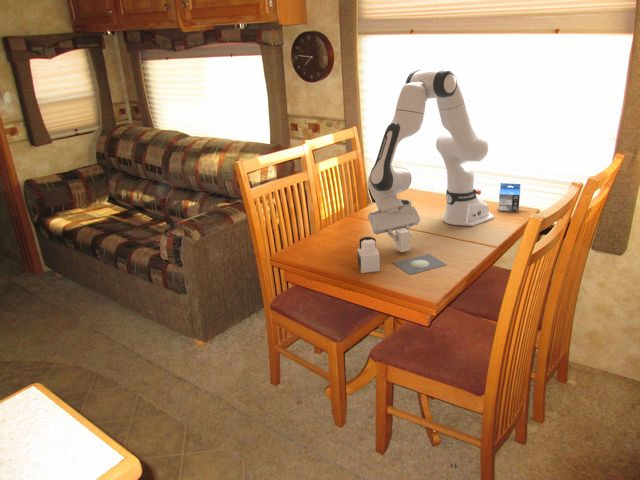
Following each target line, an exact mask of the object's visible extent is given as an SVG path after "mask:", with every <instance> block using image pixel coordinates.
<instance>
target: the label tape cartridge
mask: <svg viewBox="0 0 640 480" xmlns="http://www.w3.org/2000/svg"><path fill="white" fill-rule="evenodd" d="M520 197H521V183H503V182H501V183H500V188H499V195H498V209H497V210H498V212H515V213H519V210H520Z"/></svg>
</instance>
